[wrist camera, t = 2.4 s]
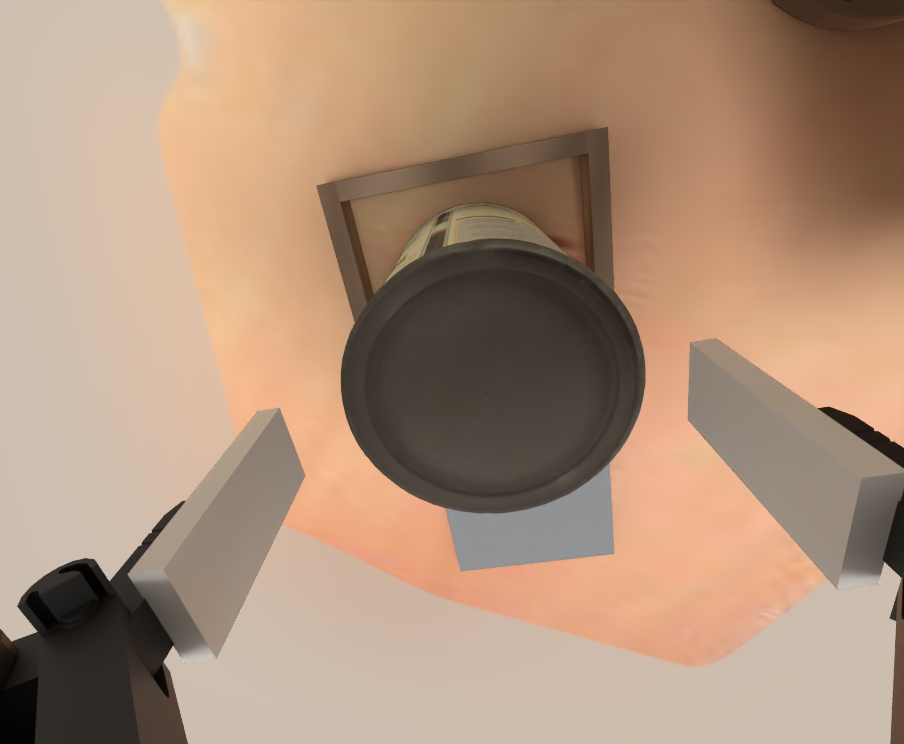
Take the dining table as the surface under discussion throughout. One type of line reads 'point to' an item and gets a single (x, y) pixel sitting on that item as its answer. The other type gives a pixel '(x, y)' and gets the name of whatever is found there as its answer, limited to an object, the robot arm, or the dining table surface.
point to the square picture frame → (584, 144)
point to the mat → (538, 530)
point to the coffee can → (491, 366)
